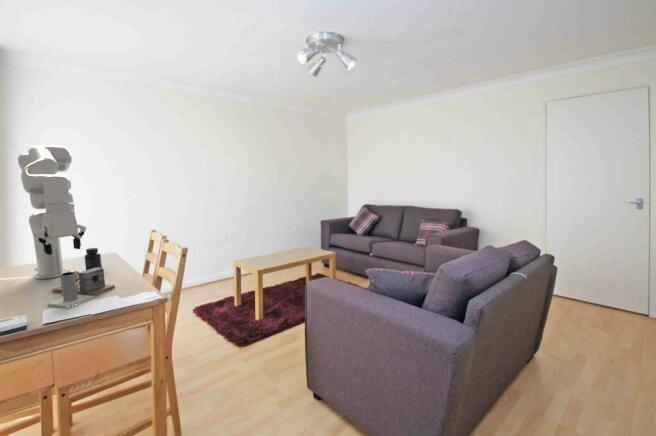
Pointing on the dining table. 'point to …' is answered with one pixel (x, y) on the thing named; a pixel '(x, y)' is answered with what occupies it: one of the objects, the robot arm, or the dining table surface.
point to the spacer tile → (69, 303)
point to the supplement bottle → (92, 259)
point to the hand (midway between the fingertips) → (63, 251)
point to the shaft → (75, 274)
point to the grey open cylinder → (68, 286)
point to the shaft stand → (90, 283)
